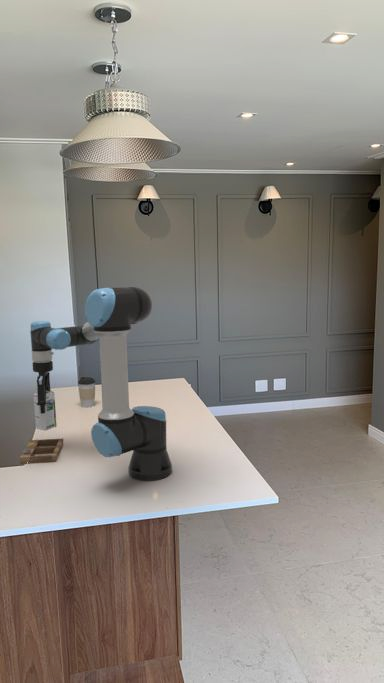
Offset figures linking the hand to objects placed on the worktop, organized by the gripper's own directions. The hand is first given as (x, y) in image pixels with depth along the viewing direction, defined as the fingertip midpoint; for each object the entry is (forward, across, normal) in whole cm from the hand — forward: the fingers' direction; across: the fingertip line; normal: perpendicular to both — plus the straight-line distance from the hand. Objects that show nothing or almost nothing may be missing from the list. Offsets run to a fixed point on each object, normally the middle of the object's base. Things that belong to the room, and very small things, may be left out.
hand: (45, 417), depth 194 cm
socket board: (+13, -5, +1) cm, 14 cm away
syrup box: (+4, 0, 0) cm, 4 cm away
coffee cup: (+13, +63, -10) cm, 66 cm away
